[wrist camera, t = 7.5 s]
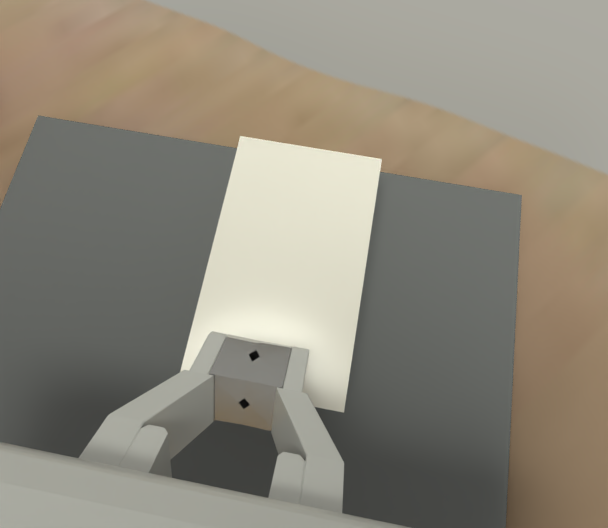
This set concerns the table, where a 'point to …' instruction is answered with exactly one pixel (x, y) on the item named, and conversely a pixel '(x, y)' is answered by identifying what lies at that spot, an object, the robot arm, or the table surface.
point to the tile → (292, 258)
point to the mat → (183, 302)
